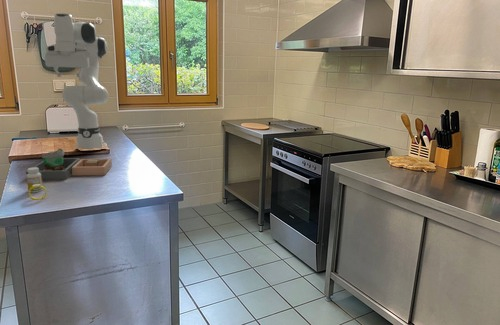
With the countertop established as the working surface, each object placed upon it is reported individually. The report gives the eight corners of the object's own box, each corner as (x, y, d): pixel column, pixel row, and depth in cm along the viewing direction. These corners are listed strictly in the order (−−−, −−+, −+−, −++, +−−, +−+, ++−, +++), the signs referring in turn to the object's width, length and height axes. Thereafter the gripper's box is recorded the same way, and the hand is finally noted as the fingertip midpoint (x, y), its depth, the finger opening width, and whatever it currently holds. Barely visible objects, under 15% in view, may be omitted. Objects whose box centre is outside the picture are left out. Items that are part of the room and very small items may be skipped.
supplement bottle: (34, 188, 159) (31, 166, 156) (45, 188, 158) (43, 167, 156) (25, 192, 154) (22, 169, 151) (37, 193, 153) (34, 170, 151)
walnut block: (89, 169, 188) (88, 160, 187) (99, 169, 189) (98, 159, 187) (86, 172, 183) (85, 162, 182) (97, 172, 184) (96, 162, 183)
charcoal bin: (46, 166, 192) (45, 158, 191) (81, 165, 194) (80, 158, 193) (26, 180, 169) (25, 171, 168) (66, 179, 171) (65, 171, 170)
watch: (30, 201, 144) (27, 187, 143) (30, 199, 147) (27, 185, 145) (47, 198, 147) (44, 184, 145) (47, 196, 149) (44, 182, 148)
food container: (54, 174, 178) (52, 154, 175) (43, 173, 179) (41, 153, 176) (71, 167, 190) (69, 149, 187) (61, 167, 191) (59, 148, 188)
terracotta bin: (82, 166, 192) (81, 159, 191) (112, 166, 195) (111, 158, 194) (72, 175, 177) (71, 167, 176) (105, 174, 179) (104, 166, 178)
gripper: (90, 49, 187) (92, 77, 190) (47, 47, 184) (50, 76, 187) (86, 48, 181) (89, 77, 184) (42, 47, 178) (45, 76, 181)
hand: (69, 76), depth 186 cm, fingers open, 8 cm apart
